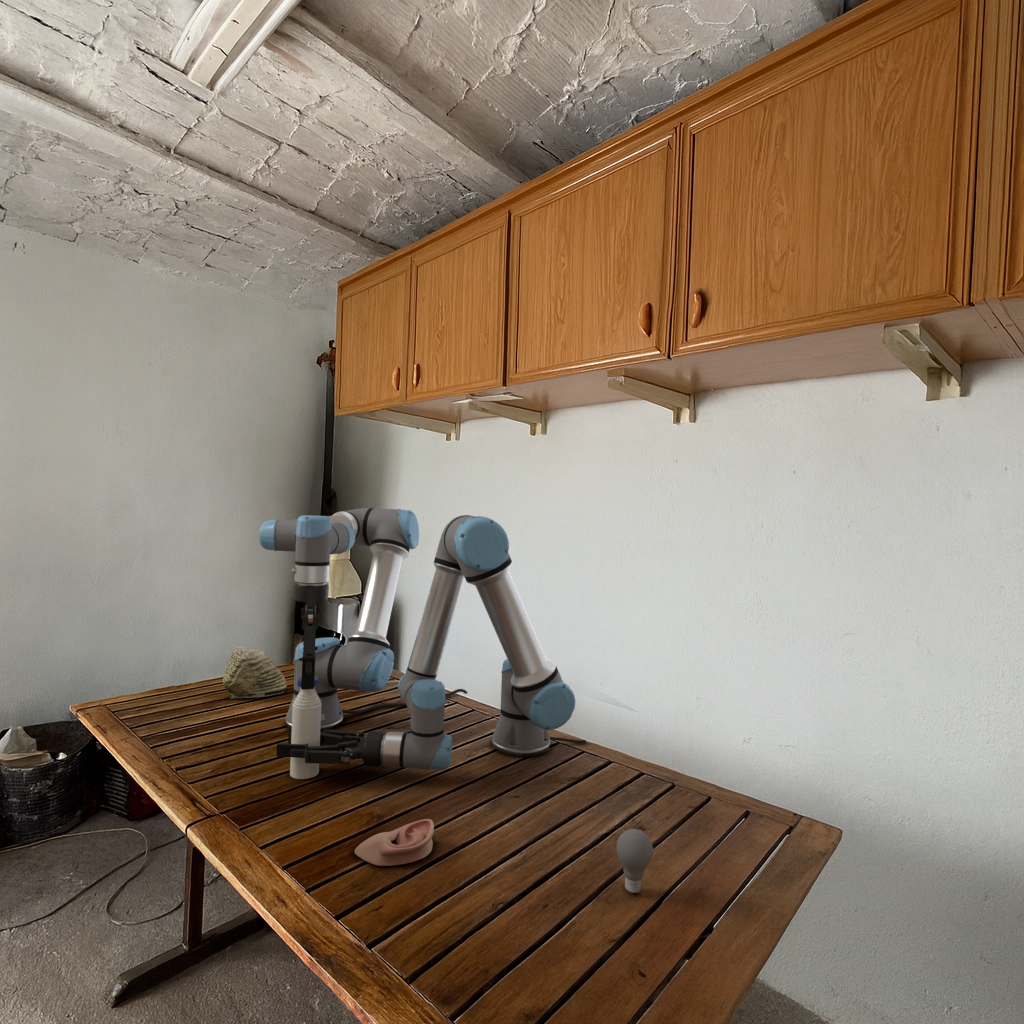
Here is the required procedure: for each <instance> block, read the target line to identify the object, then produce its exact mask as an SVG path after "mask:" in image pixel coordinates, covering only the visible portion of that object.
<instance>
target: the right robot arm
mask: <svg viewBox="0 0 1024 1024" xmlns="http://www.w3.org/2000/svg"><path fill="white" fill-rule="evenodd" d="M437 545H438V546H437V549H436V553H435V557H434V560H433V565H434V568H435V571H434V574H433V578H432V581H431V585H430V588H429V591H428V595H427V598H426V602H425V606H424V609H423V612H422V616H421V620H420V622H419V626H418V629H417V632H416V633H417V634H416V636H415V639H414V644H413V647H412V650H411V654H410V657H409V660H408V664H407V667H406V671H405V673H404V674H402V676H401V677H400V679H399V680H398V684H397V689H398V695H399V697H400V699H401V700H402V701H403V703H405V704H406V705H407V706H406V707H407V710H408V711H409V712H410V727H409V729H410V730H409V732H403V731H387V732H384V731H381V730H380V731H378V730H370V731H368V732H367V733H365V731H349V730H337V729H329V730H327V729H325V730H324V731H320V746H312V747H308V744H305V745H303V744H291V734H292V731H289V732H288V741H287V743H283V742H282V743H281V742H277V743H276V755H275V756H276V757H278V758H291V757H295V758H305V763H317V764H319V765H324V764H325V765H343V766H350V765H351V761H354V760H362V761H363V765H364V766H366V767H374V768H375V767H377V768H379V767H381V766H383V767H384V768H393V769H394V770H397V769H398V768H399V769H400V768H401V769H417V770H428V771H441V770H447V769H448V768H449V767H450V766H451V762H452V756H453V737H452V735H450V734H446V733H445V730H444V727H445V726H444V725H445V708H446V707H445V706H446V700H447V697H445V694H446V687H445V684H444V683H443V681H439V680H437V676H438V671H439V669H440V665H441V660H442V657H443V654H444V651H445V647H446V644H447V641H448V637H449V634H450V632H451V631H450V630H451V627H452V623H453V620H454V617H455V613H456V610H457V607H458V603H459V600H460V597H461V594H462V589H463V586H464V583H465V581H466V582H467V584H470V585H473V586H474V587H475V588H476V590H477V592H478V595H479V597H480V599H481V602H482V604H483V606H484V608H485V611H486V613H487V615H488V618H489V620H490V622H491V624H492V627H493V629H494V631H495V633H496V636H497V638H498V640H499V643H500V645H501V647H502V649H503V653H504V654H505V657H506V659H505V660H503V661H502V668H501V671H500V672H501V685H500V686H501V687H500V712H499V713H500V714H499V718H498V719H497V722H496V726H495V728H494V731H493V732H492V733H493V734H492V739H491V745H492V747H493V748H494V749H495V750H496V751H498V752H500V753H502V754H505V755H509V756H513V757H535V756H539V755H544V754H546V753H547V752H549V750H550V748H551V741H560V742H567V743H573V744H586V743H587V740H586V739H572V738H571V739H570V738H566V737H565V738H564V737H557V736H550V733H549V731H553V730H556V729H560V728H561V727H562V726H564V725H565V724H566V723H568V722H569V720H570V719H571V718H572V716H573V713H574V711H575V708H576V697H575V696H576V695H575V693H574V691H573V690H572V688H571V687H570V685H569V684H567V683H566V682H564V680H563V679H562V676H561V673H560V671H559V669H558V667H557V664H556V662H555V660H552V659H550V658H547V656H546V654H545V652H544V650H543V647H542V645H541V643H540V640H539V637H538V636H537V634H536V630H535V629H534V626H533V624H532V622H531V619H530V616H529V614H528V612H527V610H526V607H525V604H524V602H523V601H522V598H521V596H520V593H519V590H518V588H517V586H516V584H515V581H514V579H513V577H512V574H511V571H510V569H511V567H512V565H513V561H512V558H511V555H510V554H509V553H510V552H509V550H510V541H509V537H508V534H507V532H506V531H505V528H504V527H503V526H501V524H500V523H498V522H497V521H496V520H493V519H492V518H489V517H488V516H487V517H486V516H482V515H481V516H480V515H477V516H474V515H470V514H464V515H458V516H456V517H453V518H452V519H451V520H450V521H449V522H448V523H447V524H446V525H445V527H444V528H443V530H442V532H441V535H440V539H439V542H438V544H437ZM365 735H366V736H365Z"/></svg>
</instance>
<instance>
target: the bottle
mask: <svg viewBox="0 0 1024 1024" xmlns="http://www.w3.org/2000/svg"><path fill="white" fill-rule="evenodd" d="M320 727H321V700H320V699H319V696H318V694H316V691H315V687H314V689H305V690H301V687H300V692H299V694H298V695H297V697H296V698H295V700H294V703H293V707H292V729H291V732H292V734H291V744H303V745H305V744H308V747H312V746H320V732H321V731H320ZM289 760H290V761H289V776H290V777H291V778H292V779H294V780H295V779H296V780H306V779H307V780H308V779H311V778H315V777H316V776H317V775H319V772H320V764H317V763H305V758H295V757H290V759H289Z"/></svg>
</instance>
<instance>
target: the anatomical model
mask: <svg viewBox="0 0 1024 1024" xmlns="http://www.w3.org/2000/svg"><path fill="white" fill-rule="evenodd" d="M434 824H435V823H434V821H433V820H432V819H430V818H424V819H423V818H422V819H419V820H416V821H413V822H410V823H407V824H405V825H402V826H400V827H397V828H395V829H393V830H391V831H384V832H379V833H377V834H374V835H372V836H370V837H368V838H367V839H365V840H363V841H362V842H361V843H360V844H359V845H358V846H356V847H355V849H354V854H355V856H357V857H358V858H360V859H361V860H363V861H365V862H367V863H368V864H372V865H374V866H378V867H390V866H398V865H399V866H400V865H406V864H409V863H413V862H417V861H419V860H422V859H424V858H426V857H427V856H429V854H430V853H431V852H432V850H433V843H434V842H433V839H432V838H433V837H434V834H435V825H434Z"/></svg>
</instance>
